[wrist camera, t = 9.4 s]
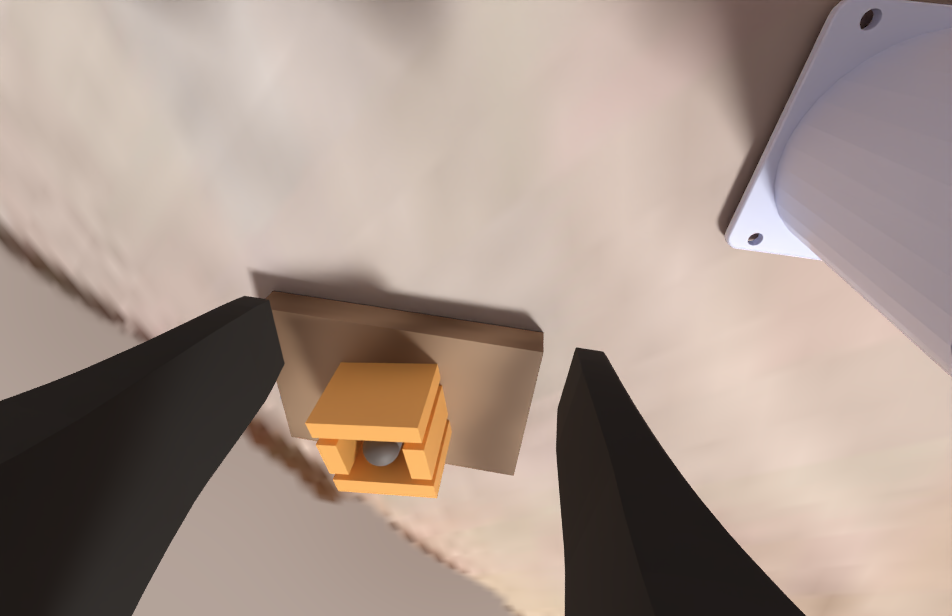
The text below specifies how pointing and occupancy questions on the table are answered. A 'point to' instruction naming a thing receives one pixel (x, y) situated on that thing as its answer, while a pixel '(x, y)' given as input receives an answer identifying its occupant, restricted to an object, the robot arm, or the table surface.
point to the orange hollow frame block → (383, 427)
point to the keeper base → (419, 342)
